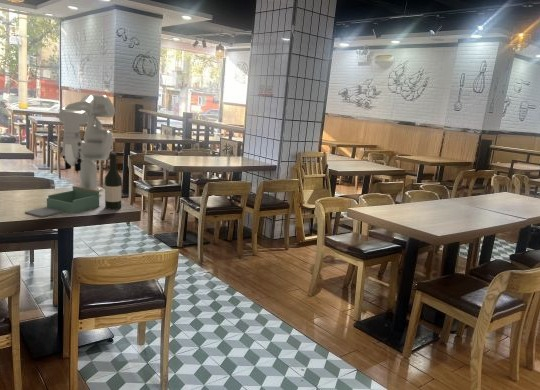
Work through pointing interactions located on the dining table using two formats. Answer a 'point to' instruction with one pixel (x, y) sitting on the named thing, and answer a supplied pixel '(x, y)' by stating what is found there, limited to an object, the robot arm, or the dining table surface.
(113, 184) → the wine bottle
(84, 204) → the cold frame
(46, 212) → the rubber mat
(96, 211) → the dining table surface
